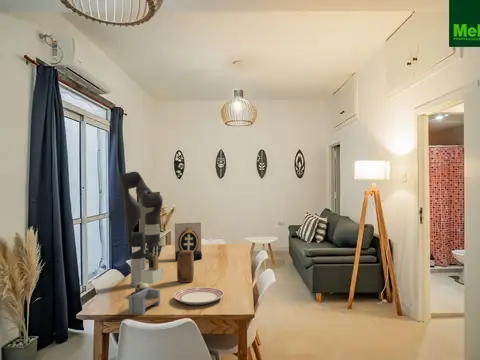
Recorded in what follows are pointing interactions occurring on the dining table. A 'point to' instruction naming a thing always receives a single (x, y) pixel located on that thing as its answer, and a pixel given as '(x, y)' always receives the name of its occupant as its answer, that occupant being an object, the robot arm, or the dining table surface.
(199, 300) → the dinner plate
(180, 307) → the dining table surface
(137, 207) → the robot arm
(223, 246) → the dining table surface
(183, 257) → the block
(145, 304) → the board
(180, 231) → the decorative plaque
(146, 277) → the green and brown blocks
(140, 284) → the skull
